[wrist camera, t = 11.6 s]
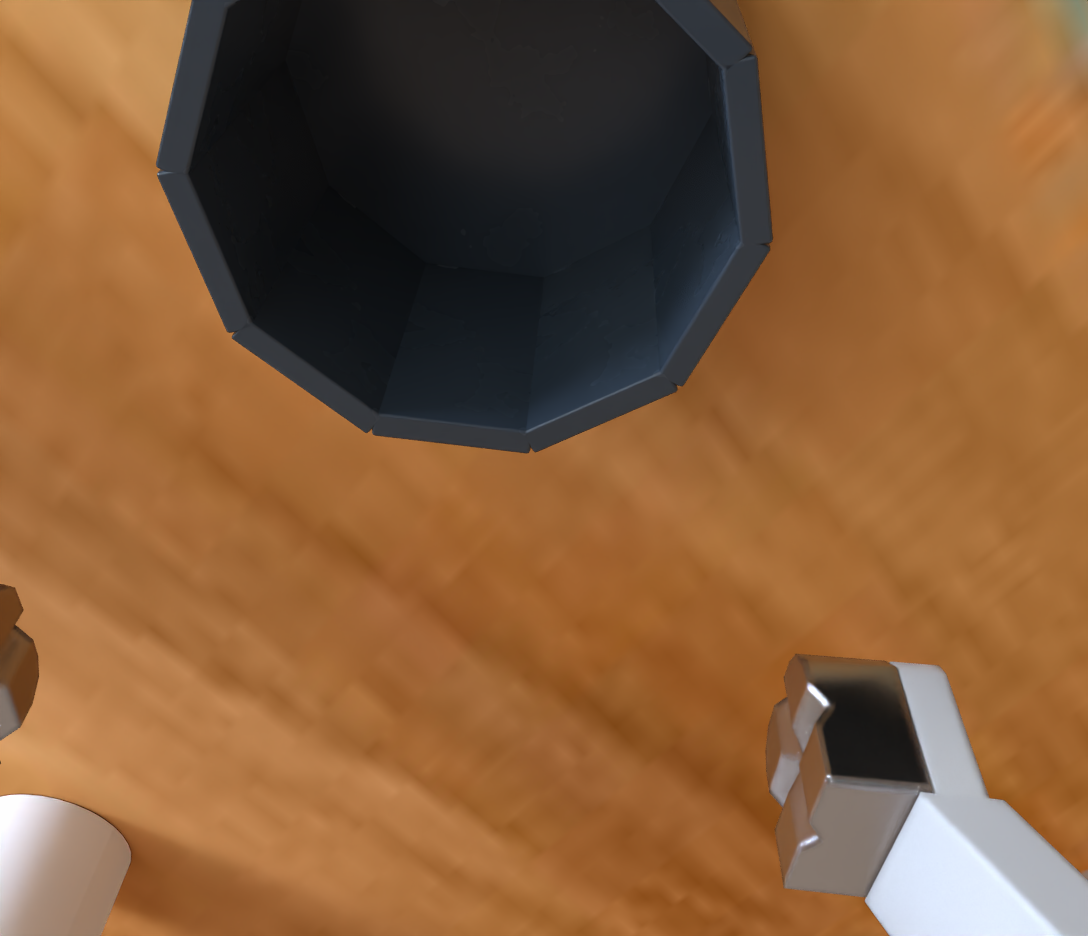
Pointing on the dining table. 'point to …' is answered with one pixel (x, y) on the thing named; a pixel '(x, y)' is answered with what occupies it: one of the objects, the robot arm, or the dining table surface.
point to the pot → (471, 201)
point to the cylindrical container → (57, 868)
